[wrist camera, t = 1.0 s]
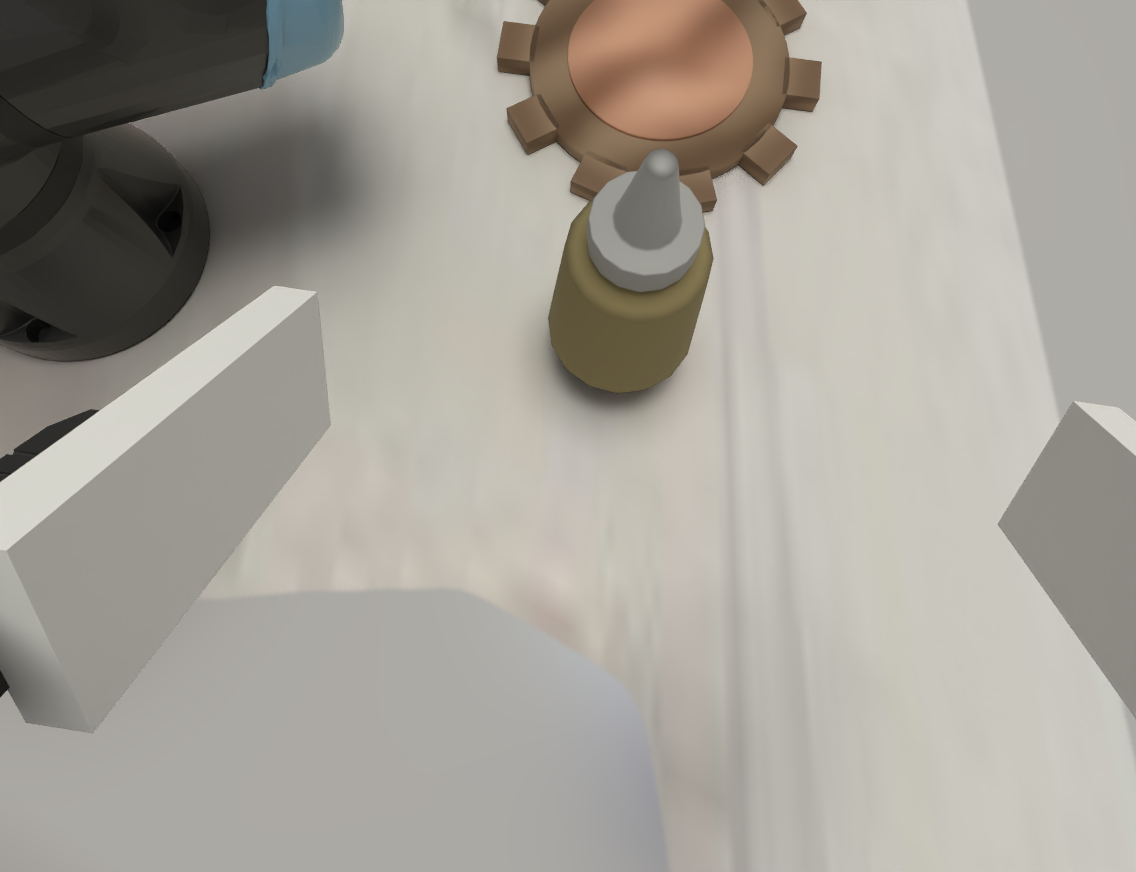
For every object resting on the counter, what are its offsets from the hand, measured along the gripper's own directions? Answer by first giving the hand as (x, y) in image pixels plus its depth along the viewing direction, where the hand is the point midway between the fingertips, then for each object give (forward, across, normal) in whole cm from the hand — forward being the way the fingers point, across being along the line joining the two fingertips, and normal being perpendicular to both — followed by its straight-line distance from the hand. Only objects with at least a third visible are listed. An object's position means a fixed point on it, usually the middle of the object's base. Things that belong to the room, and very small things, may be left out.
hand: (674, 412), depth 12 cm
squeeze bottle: (+26, 0, -11) cm, 29 cm away
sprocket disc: (+40, 0, +3) cm, 40 cm away
